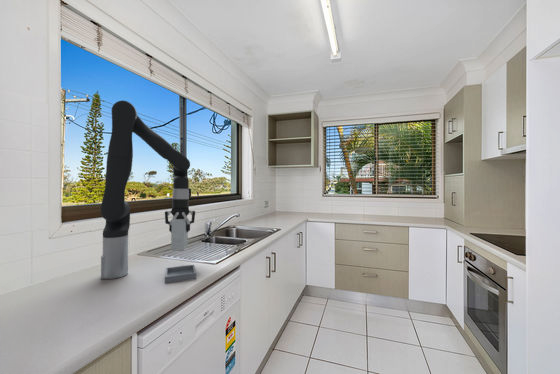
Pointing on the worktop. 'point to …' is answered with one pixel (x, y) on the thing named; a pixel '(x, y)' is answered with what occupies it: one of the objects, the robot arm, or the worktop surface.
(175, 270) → the tray
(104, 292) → the worktop surface
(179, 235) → the skincare box
